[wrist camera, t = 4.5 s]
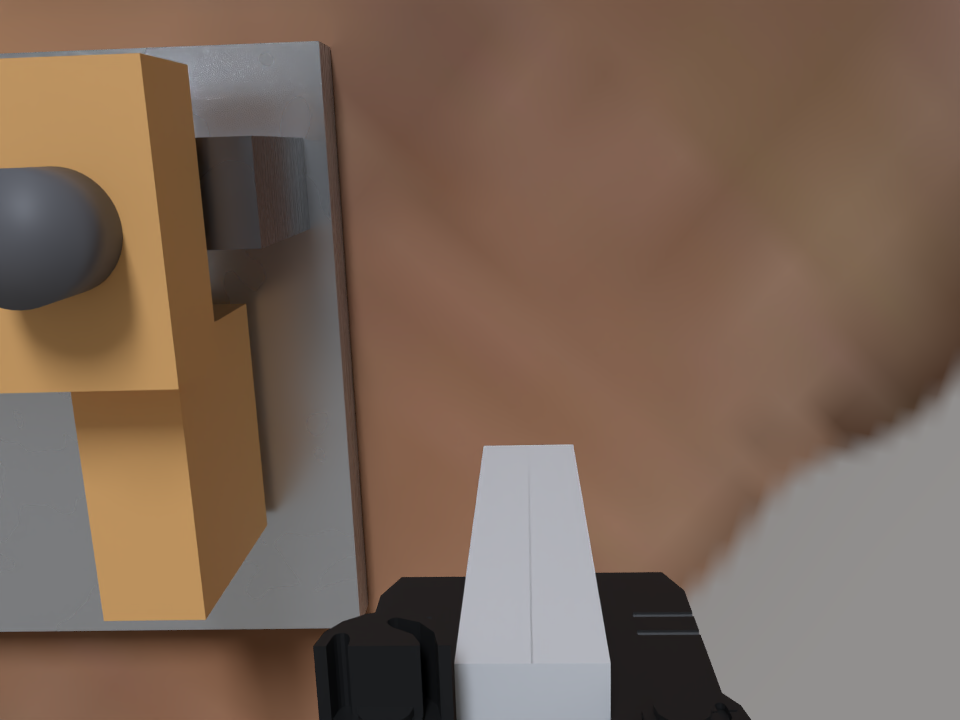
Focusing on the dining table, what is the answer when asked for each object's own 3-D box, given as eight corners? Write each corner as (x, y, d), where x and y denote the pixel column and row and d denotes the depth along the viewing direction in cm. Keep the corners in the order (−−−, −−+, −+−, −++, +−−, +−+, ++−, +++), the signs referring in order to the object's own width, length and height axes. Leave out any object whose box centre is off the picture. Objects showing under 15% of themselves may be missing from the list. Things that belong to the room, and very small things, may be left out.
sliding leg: (163, 545, 22) (-8, 740, 15) (105, 86, 19) (-135, 51, 12) (293, 543, 21) (185, 740, 14) (252, 80, 19) (97, 42, 12)
